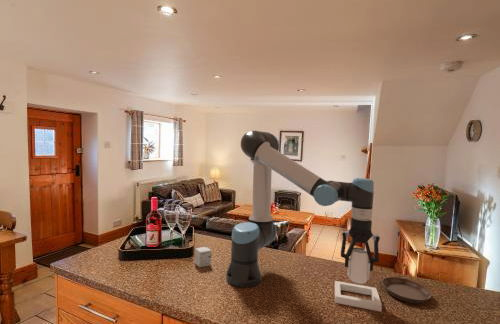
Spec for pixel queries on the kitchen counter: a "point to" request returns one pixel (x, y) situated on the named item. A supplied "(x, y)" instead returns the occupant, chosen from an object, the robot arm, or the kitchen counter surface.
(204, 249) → the skincare box
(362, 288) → the socket collar
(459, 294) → the kitchen counter surface
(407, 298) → the plant saucer
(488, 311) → the kitchen counter surface
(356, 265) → the can
